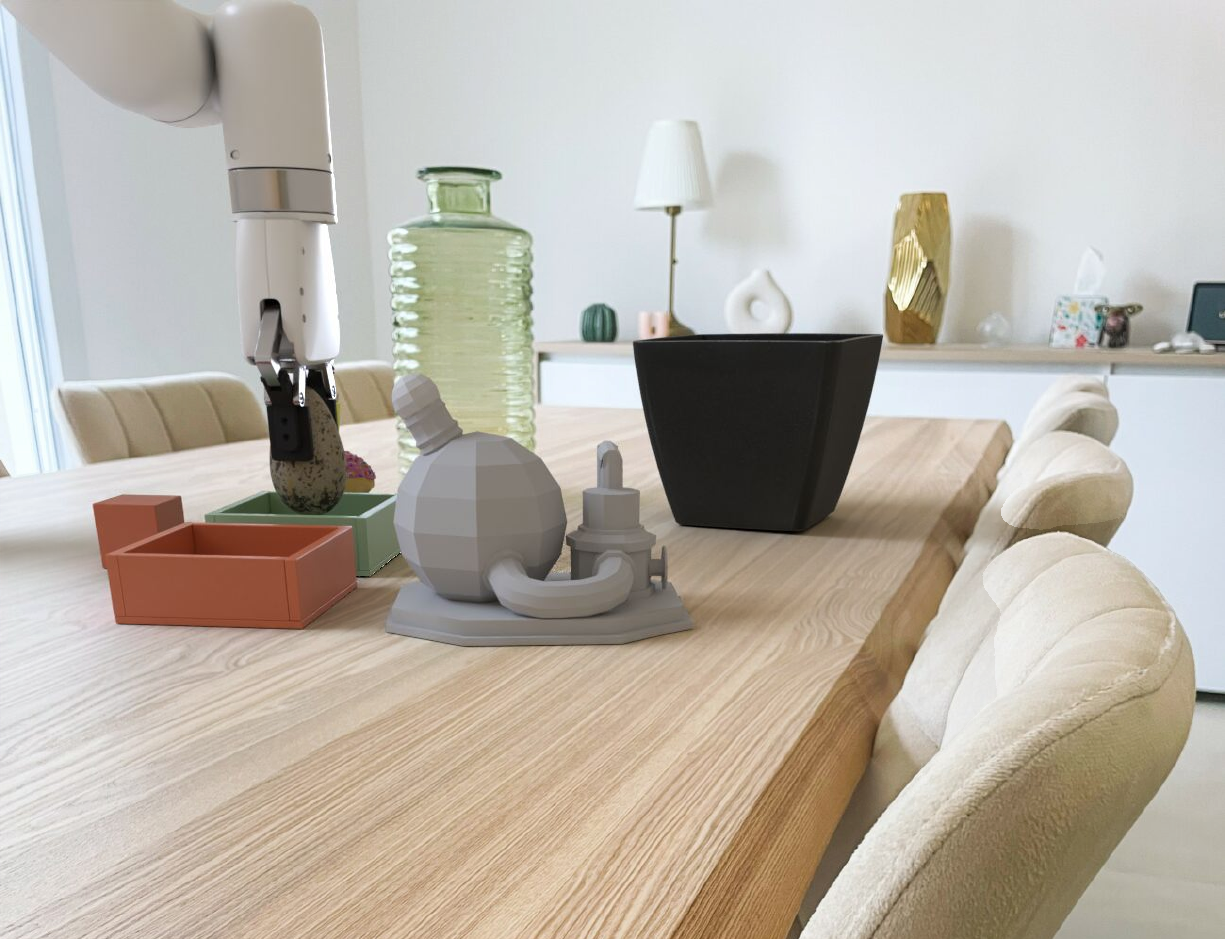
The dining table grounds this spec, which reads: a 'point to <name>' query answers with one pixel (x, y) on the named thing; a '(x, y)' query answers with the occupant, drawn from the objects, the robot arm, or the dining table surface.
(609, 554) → the grey distillation still model
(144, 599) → the terracotta bin
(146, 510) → the terracotta block
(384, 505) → the sage bin
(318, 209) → the robot arm
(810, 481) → the flower pot
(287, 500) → the decorative egg
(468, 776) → the dining table surface
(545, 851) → the dining table surface
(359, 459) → the donut with candle
